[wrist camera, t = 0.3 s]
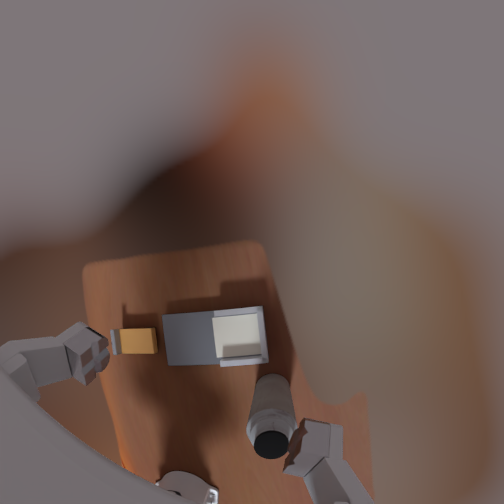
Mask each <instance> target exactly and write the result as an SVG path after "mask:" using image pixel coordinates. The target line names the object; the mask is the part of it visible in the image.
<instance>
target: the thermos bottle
mask: <svg viewBox="0 0 504 504" xmlns="http://www.w3.org/2000/svg"><path fill="white" fill-rule="evenodd" d="M295 429H297V422H296V417H295V412H294V406H293V401H292V396H291V391H290V386H289V383H288V381H287V380H286V379H285V378H284V377H283V376H281V375H278V374H267V375H265V376H263V377H261V378H260V379H259V380H258V382H257V384H256V387H255V391H254V396H253V400H252V405H251V410H250V414H249V419H248V423H247V428H246V430H247V435H248V437H249V439H250V441H251V443H252V444H253V446H254V449H255V451H256V453H257V454H258V455H259V456H261V457H263V458H266V459H276V458H279V457H281V456H283V455H284V454H285V453H286V452H287V451H288V450H287V449H288V445H289V441H290V439H291V436H292V434H293V432H294V431H295Z"/></svg>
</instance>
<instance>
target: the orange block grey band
mask: <svg viewBox="0 0 504 504" xmlns="http://www.w3.org/2000/svg"><path fill="white" fill-rule="evenodd" d="M110 332H111V340H112V348H113V355H118V354H121V353H129V354H154V353H157V352H158V347H157V339H156V331H155V328H153V327H152V328H123V329H114V330H110Z"/></svg>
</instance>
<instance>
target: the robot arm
mask: <svg viewBox="0 0 504 504" xmlns="http://www.w3.org/2000/svg"><path fill="white" fill-rule="evenodd" d="M108 345H109V343H108V339H107V338H106V337H104V336H103V335H101V334H99V333H98V332H96V331H95V330H93V329H92V328H90V327H89V326H87V325H85V324H84V323H82V322H77V323H76V324H74V325H73V326H71V327H70V328H68V329H67V330H65V331H64V332H63V333H61V334H60V335H58V336H57V337H55V338H54V337H44V338H34V339H24V340H14V341H9V342H7V343H6V344H4V345H3V346H1V347H0V504H218V496H219V491H218V489H217V488H215V487H212V486H210V485H208V484H207V483H206V482H204V481H203V480H202V479H201V478H199V477H197V476H195V475H193V474H191V473H187V472H183V471H172V472H169V473H167V474H165V475H164V477H163V478H162V480H160V481H158V482H156V484H153V483H151V482H149V481H147V480H145V479H143V478H141V477H139V476H137V475H135V474H133V473H132V472H130V471H128V470H126V469H124V468H123V467H121V466H119V465H117V464H116V463H114V462H112V461H111V460H109V459H108V458H106V457H105V456H103V455H102V454H100V453H99V452H97V451H96V450H94V449H93V448H91V447H90V446H88V445H87V444H86V443H84V442H83V441H81V440H80V439H79V438H77V437H76V436H74V435H73V434H72V433H71V432H69V431H68V430H67V429H66V428H64V427H63V426H62V425H61V424H59V423H58V422H57V421H56V420H55V419H53V418H52V417H51V416H50V415H49V414H48V413H46V412H45V411H44V410H43V409H42V408H41V407H40V406H38V405H37V403H36V402H37V401H38V400H39V399H40V397H41V396H40V393H39V391H38V389H37V387H40V386H44V385H47V384H51V383H54V382H58V381H61V380H65V379H69V378H72V377H74V378H75V379H77V380H78V381H80V382H81V383H83V384H84V385H86V386H87V385H88V384H89V383H90V382H92V381H93V380H94V379H95V378H96V373H97V372H102V371H103V370H104V369H105V368H106V367H107V365H108V363H109V359H110V353H109V351H108V349H107V348H106V347H107V346H108ZM287 450H288V452H289V455H288V456H287V458H286V459H285V463H284V468H283V472H282V473H286V474H291V475H295V476H299V477H304V478H303V479H304V481H305V484H306V486H307V488H308V491H309V493H310V495H311V498H312V500H313V502H314V504H375V503H374V501H373V500H372V498H371V497H370V495H369V494H368V492H367V491H366V490H365V488H364V487H363V485H362V484H361V482H360V481H359V479H358V478H357V476H356V475H355V473H354V472H353V470H352V469H351V467H350V466H349V464H348V463H347V461H346V460H342V457H343V427H342V426H341V425H336V424H331V423H327V422H322V421H317V420H313V419H308V418H303V419H302V420H301V422H300V425H299V428H297V429H295V431H294V432H293V434H292V436H291V439H290V441H289V445H288V449H287Z"/></svg>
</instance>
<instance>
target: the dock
mask: <svg viewBox="0 0 504 504" xmlns="http://www.w3.org/2000/svg"><path fill="white" fill-rule="evenodd" d="M162 321H163V330H164V338H165V346H166V354H167V361H168V366H177V365H209V364H220V366H221V367H225V366H239V365H251V364H261V363H268V362H269V354H268V345H267V336H266V328H265V319H264V310H263V306H254V307H245V308H236V309H226V310H215V311H204V312H192V313H179V314H165V315H162Z"/></svg>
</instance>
